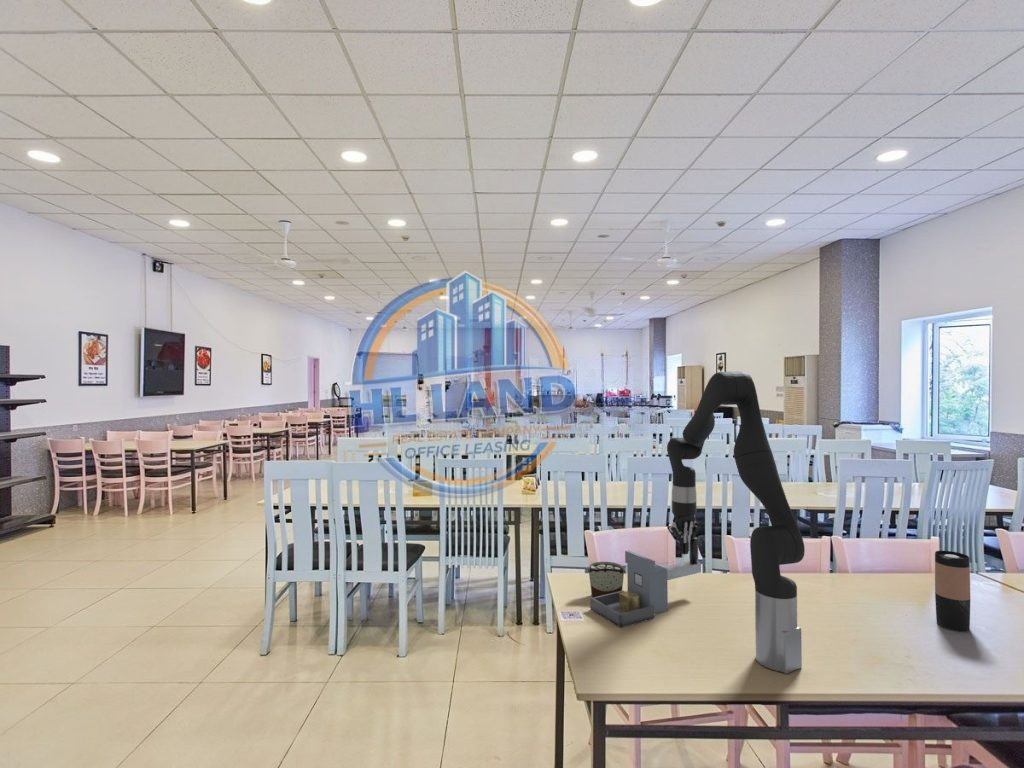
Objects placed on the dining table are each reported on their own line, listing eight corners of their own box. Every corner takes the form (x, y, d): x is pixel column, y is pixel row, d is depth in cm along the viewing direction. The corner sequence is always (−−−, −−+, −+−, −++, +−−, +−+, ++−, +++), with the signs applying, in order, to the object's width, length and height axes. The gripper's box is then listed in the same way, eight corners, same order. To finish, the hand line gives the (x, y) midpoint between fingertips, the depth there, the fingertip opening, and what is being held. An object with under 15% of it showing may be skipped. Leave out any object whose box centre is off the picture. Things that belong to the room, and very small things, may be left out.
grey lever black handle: (701, 572, 171) (700, 538, 171) (641, 586, 159) (641, 549, 159) (693, 569, 174) (693, 536, 174) (635, 583, 162) (634, 547, 162)
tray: (654, 618, 154) (654, 606, 154) (620, 627, 148) (620, 615, 148) (623, 601, 167) (622, 590, 167) (590, 609, 161) (590, 598, 161)
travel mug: (961, 621, 151) (960, 551, 151) (977, 633, 143) (976, 560, 144) (930, 618, 153) (929, 549, 153) (943, 630, 145) (942, 557, 146)
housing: (670, 612, 158) (669, 558, 159) (652, 616, 155) (651, 561, 155) (642, 598, 169) (642, 547, 169) (625, 602, 166) (625, 550, 166)
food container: (624, 591, 175) (623, 561, 175) (626, 599, 168) (625, 567, 169) (586, 590, 176) (586, 560, 176) (587, 597, 170) (586, 566, 170)
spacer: (639, 595, 158) (628, 598, 156) (639, 610, 158) (629, 613, 156) (629, 590, 162) (619, 593, 160) (629, 605, 162) (619, 607, 160)
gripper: (677, 503, 163) (677, 560, 163) (707, 499, 170) (708, 553, 169) (660, 499, 170) (660, 553, 170) (689, 495, 176) (690, 547, 176)
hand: (684, 553), depth 170 cm, fingers closed
